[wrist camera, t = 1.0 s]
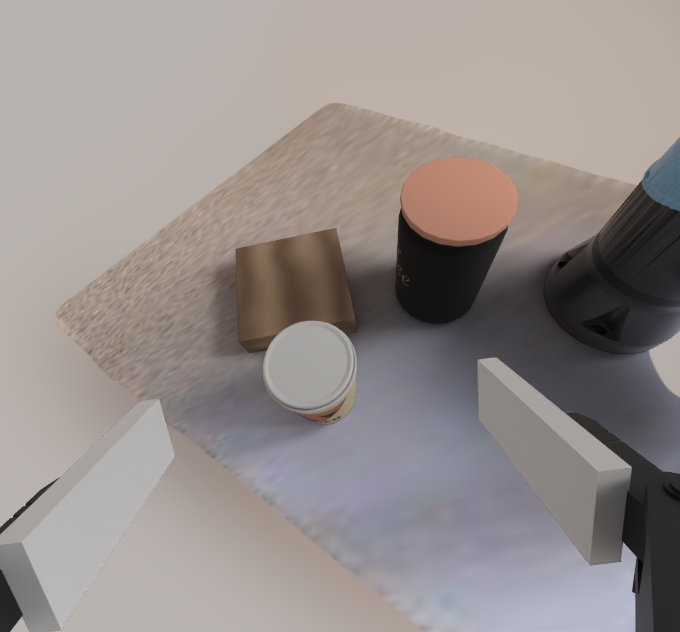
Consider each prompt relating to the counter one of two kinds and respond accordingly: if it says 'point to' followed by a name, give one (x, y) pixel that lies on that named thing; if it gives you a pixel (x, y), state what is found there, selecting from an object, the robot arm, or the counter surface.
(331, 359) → the coffee cup
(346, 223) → the counter surface
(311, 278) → the walnut riser
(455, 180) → the coffee jar
